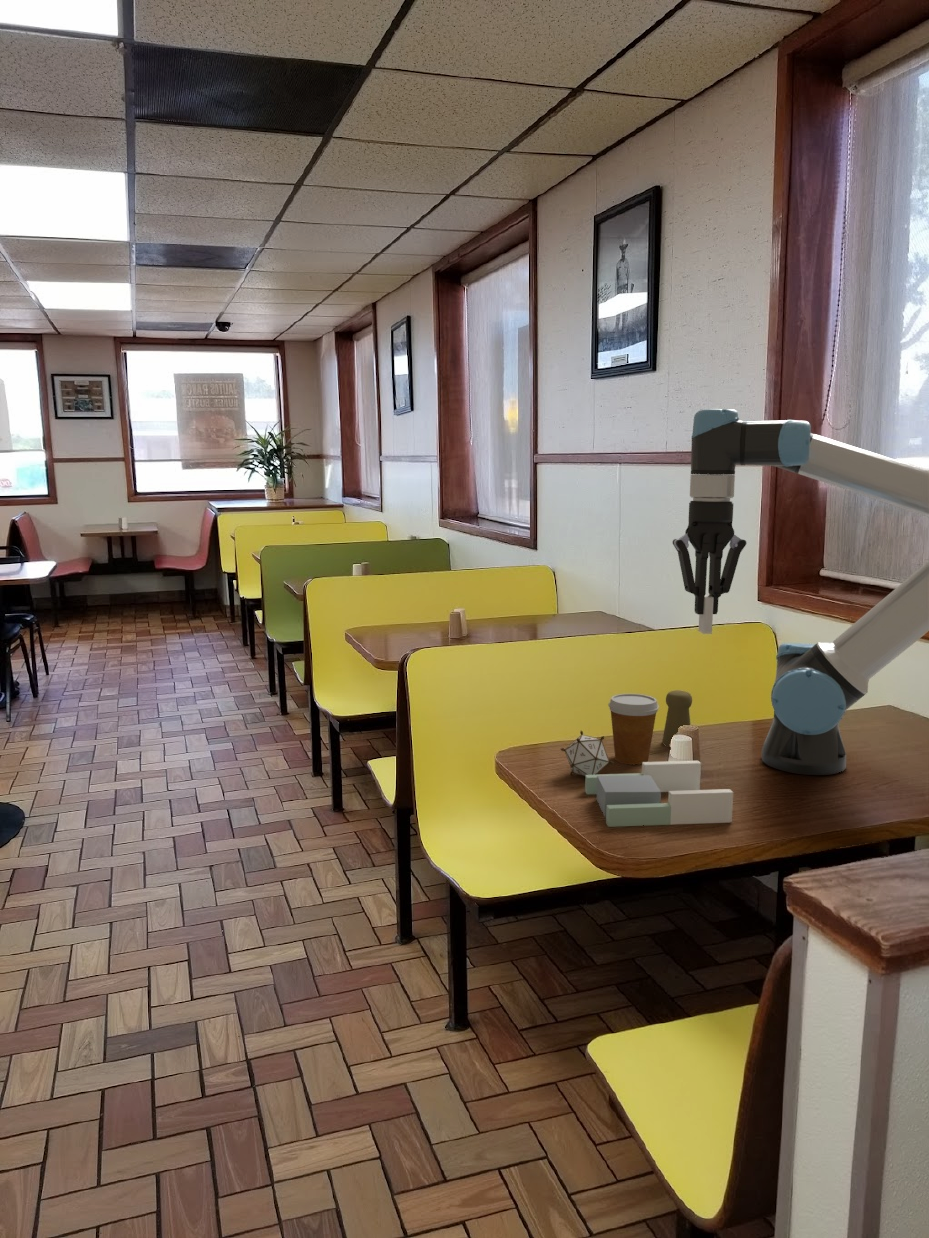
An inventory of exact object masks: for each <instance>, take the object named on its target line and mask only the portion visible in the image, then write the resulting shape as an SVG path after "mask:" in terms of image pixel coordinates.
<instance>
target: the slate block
mask: <svg viewBox="0 0 929 1238" xmlns="http://www.w3.org/2000/svg"><path fill="white" fill-rule="evenodd" d="M661 800H662V792H661V791H660V789H659V788H658V786H657V785H656V783H655V782H654V780H653V779H652V777H651V776H650V775H608V776H597V794H596V801H597V804H598V803H599V804H598V806H599V808H600V810H601V813H602V812H603V813H602V815H603V817H604V818H606V806H607V805H625V804H655V803H662V801H661Z"/></svg>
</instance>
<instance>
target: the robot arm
mask: <svg viewBox="0 0 929 1238" xmlns="http://www.w3.org/2000/svg"><path fill="white" fill-rule="evenodd" d="M690 449H691V451H690V453H691V454H690V457H691V458H690V479H689V484H690V485H689V497H690V498H692V500H690V502H689V503H688V504H689V505H688V525H687V528H686V529H685V533H684V534H683V535H682V536H680V537H679V538H674V539H672V545H673V547H674V549H675V551H677V554H678V555H677V556H678V560H679V565H680V571H681V575H682V581H683V586H684V591H685V592H687V593H689V594H693V596H694V613H695V614H697V615H698V632H700V633H701V634H704V635H705V634H707V635H709V634H713V619H714V618H713V616H714V615H717V614H718V611H719V598H720V597H721V596H722V595H724V594H729V592H730V591H731V586H732V584H733V581H734V577H735V574H736V569H737V566H738V562H739V559H740V555H741V553H742V551H743V550H744V548H745V547H746V546H747V541H746V540H745V539H742V538H740V537H739V536H737V535H736V534H735V529H734V527H733V519H734V503H733V501H731V499H733V498H734V497H735V484H736V483H735V480H736V476H735V475H736V466H765V467H766V466H769V467H770V466H772V467H776V468H779V469H782V470H784V471H788V472H791V473H795V474H797V475H801V476H804V477H807V478H810V479H812V480H816V481H819V482H821V483H824V484H829V485H831V486H834V487H837V488H839V489H842V490H846V491H849V492H852V493H854V494H858V495H860V496H861V495H862V496H864V497H867V498H870V499H873V500H876V501H879V502H881V503H885V504H889V505H890V506H894V507H897V508H900V509H903V510H906V511H908V512H911V513H915V514H917V515H921V516H924V517H927V518H929V469H927V468H923V467H920V466H917V465H914V464H911V463H907V462H905V461H902V460H898V459H896V458H893V457H892V458H891V457H888V456H885V455H882V454H879V453H876V452H872V451H870V450H867V449H864V448H860V447H857V446H853V445H851V444H847V443H844V442H841V441H838V440H834V439H832V438H829V437H825V436H822V435H819V434H816V433H812V425H811V423H810V422H809V421H807V420H795V419H787V420H786V419H785V420H755V421H754V420H752V421H751V420H750V421H748V420H740V418H739V413H738V410H736V409H730V408H722V409H721V408H710V409H709V408H708V409H700V410H698V411H697V412H695V414H694V416H693V425H692V434H691V448H690ZM689 542H690V544H691V546H692V547H693V549H694V550H695V551H694V555H695V568H694V569H695V570H694V571H695V572H694V571H693V567H692V562H691V558H690V557H691V556H690V552H689V549H688V548H689V546H690V545H689ZM728 544H729V548H728V552H727V555H726V558H725V563H724V566H723V569H722V559H723V556H724V555H723V554H724V550H725V548H726V547H727V546H728ZM708 559H709V568H708ZM708 569H709V571H708ZM707 571H708V572H709V573H708V572H707ZM721 572H722V573H721ZM707 573H708V594H709V595H706V591H707ZM928 632H929V560H928V561H926V562H925V563H924V564H923V565H922V566H921V567H919V568H918V569H917V570H916V571H914V572H913V573H912V574H911V575H910V576H909V577H908V578H906V579H905V580H904V581H903V582H902V583H900V584H899V585H898V586H897V587H896V588H894V589H893V590H892V591H891V592H890V593H889V594H887V595H886V596H885V597H884V598H883V599H881V600H879V602H878V603H877V604H876V605H874V606H873V607H872V608H871V609H870V610H869V611H867V612H866V613H865V614H864V615H862V616H861V617H860V618H859V619H857V620H856V621H855V622H854V623H853V624H852V625H851V626H849V627H848V628H847V629H846V630H844V632H842V633H841V634H840V635H839V636H837V637H836V638H835V639H834V640H833V641H830V642H829V641H817V642H816V643H798V642H797V643H796V642H787V643H785V642H784V643H781V644H780V645H779V646H778V649H777V653H776V654H777V655H776V656H775V657H776V658H775V659H776V668H775V669H776V670H775V680H774V684H773V686H772V688H771V693H770V700H771V701H770V702H771V706H772V709H773V718H772V719H773V720H772V723H771V725H770V728H769V730H768V733H767V735H766V737H765V740H764V742H763V744H762V746H761V761H762V763H764V764H765V765H766V766H769V767H771V768H773V769H776V770H779V771H782V772H786V773H791V774H798V775H808V776H827V775H835V774H839V772H840V773H842V772H844V771H845V770H846V768H847V753H846V750H845V746H844V743H843V737H842V735H841V731H840V727H839V726H840V725H839V723H840V721H842V719H843V717H844V715H845V713H846V711H847V710H848V709H850V708H851V707H852V706H853V705H854V704H856V703H857V702H858V701H859V700H861V699H862V698H864V696H866V695H867V694H868V689H869V681H870V679H872V678H873V677H875V676H876V674H878V673H879V672H880V671H881V670H883V669H884V668H885V667H886V666H888V665H889V664H890V663H892V661H894V660H895V659H896V658H898V657H899V656H900V655H901V654H903V653H904V652H905V651H906V650H907V649H909V648H910V647H911V646H912V645H913V644H915V643H916V642H917V641H918V640H920V639H921V638H922V637H923V636H925V635H926V634H927V633H928ZM841 771H842V772H841Z"/></svg>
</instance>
